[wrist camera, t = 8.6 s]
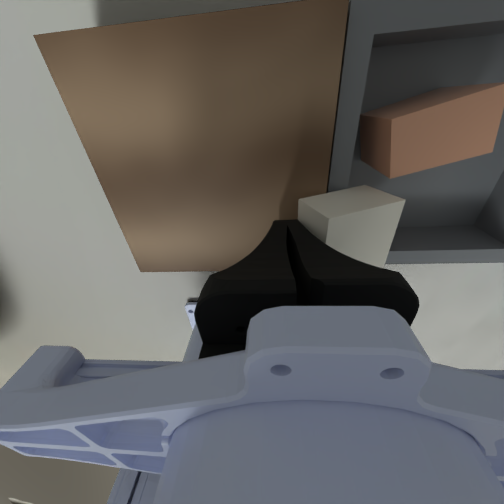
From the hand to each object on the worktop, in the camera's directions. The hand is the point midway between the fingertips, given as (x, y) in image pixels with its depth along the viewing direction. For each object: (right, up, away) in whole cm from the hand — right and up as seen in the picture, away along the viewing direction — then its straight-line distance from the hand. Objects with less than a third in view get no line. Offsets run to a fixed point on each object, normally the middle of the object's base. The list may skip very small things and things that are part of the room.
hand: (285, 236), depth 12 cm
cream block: (+2, +1, 0) cm, 3 cm away
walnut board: (-4, +5, +3) cm, 7 cm away
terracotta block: (+6, +6, -2) cm, 9 cm away
